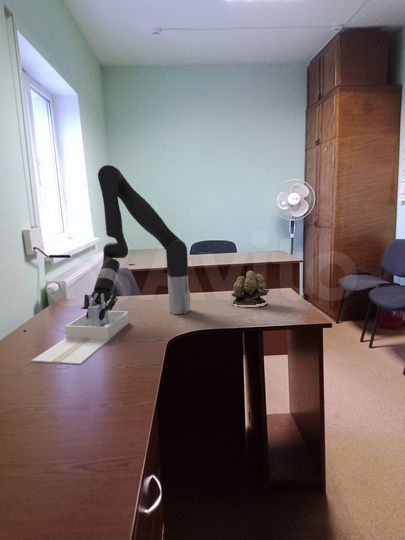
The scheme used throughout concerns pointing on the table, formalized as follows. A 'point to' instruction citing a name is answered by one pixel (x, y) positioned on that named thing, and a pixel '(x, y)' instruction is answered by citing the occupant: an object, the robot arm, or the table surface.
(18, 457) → the table surface
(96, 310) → the medicine box
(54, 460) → the table surface
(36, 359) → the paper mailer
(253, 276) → the brown lumpy mound
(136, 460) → the table surface
